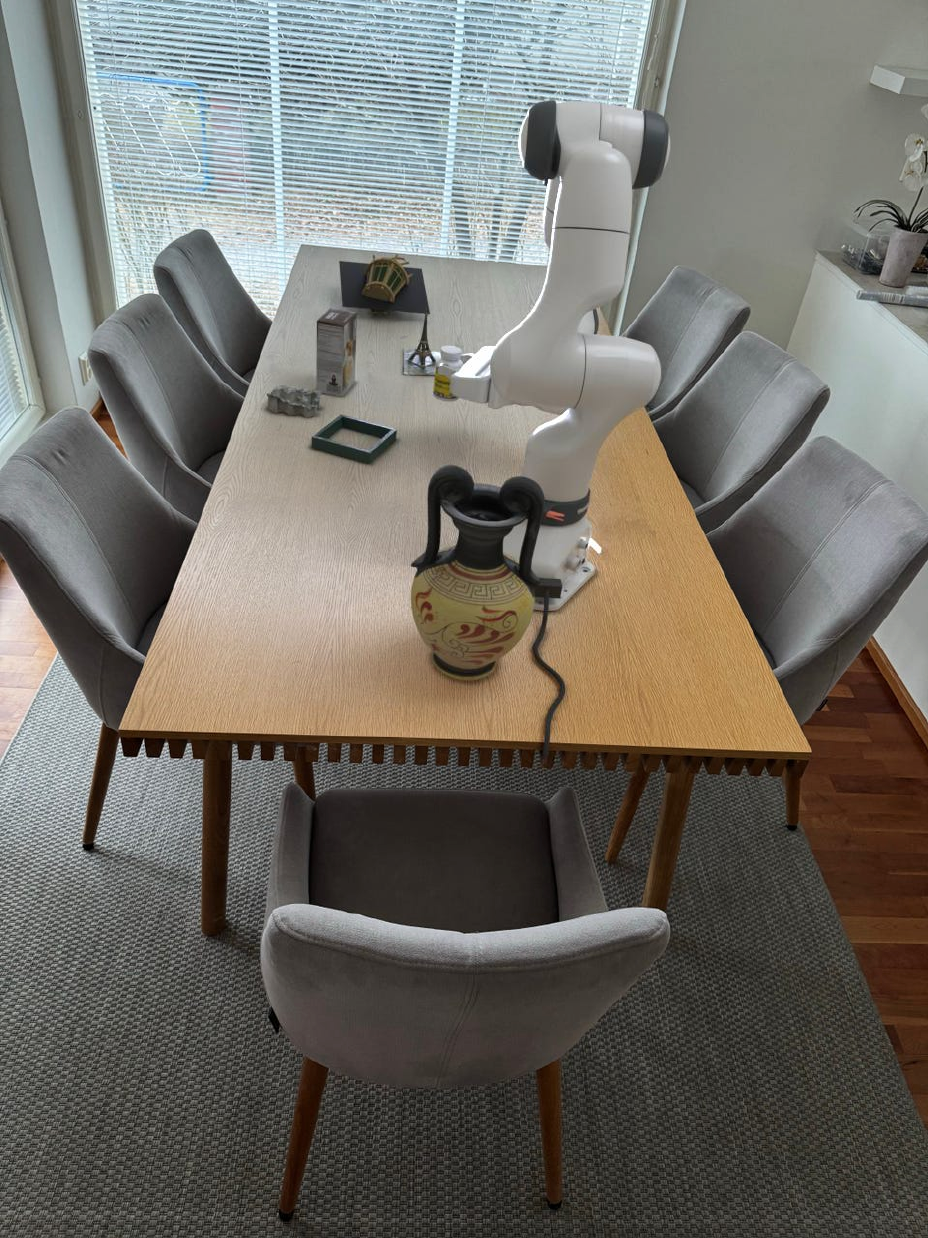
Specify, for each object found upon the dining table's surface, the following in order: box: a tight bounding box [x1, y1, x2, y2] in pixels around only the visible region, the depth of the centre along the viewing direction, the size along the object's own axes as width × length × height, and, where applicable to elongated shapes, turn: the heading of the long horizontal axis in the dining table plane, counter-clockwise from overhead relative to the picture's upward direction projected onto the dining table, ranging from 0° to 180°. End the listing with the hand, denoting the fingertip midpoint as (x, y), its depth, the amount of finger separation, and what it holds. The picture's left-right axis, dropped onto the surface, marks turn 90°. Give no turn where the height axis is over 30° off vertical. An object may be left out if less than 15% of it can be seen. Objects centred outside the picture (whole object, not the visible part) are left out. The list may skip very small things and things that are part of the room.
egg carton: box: [266, 384, 322, 418], centre depth 196 cm, size 11×8×4 cm
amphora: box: [410, 464, 545, 681], centre depth 126 cm, size 18×17×30 cm
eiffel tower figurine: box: [403, 310, 441, 376], centre depth 222 cm, size 15×10×13 cm
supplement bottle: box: [432, 345, 464, 403], centre depth 184 cm, size 5×5×10 cm
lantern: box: [338, 253, 431, 315], centre depth 255 cm, size 14×23×30 cm
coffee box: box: [315, 308, 358, 397], centre depth 204 cm, size 9×6×16 cm
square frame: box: [311, 413, 398, 465], centre depth 186 cm, size 13×13×2 cm
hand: (445, 362), depth 183 cm, fingers closed on supplement bottle, 5 cm apart
